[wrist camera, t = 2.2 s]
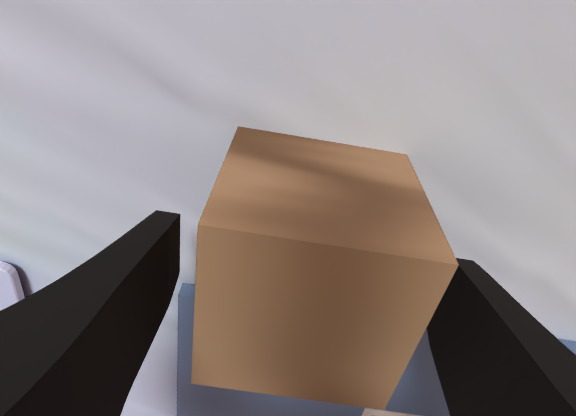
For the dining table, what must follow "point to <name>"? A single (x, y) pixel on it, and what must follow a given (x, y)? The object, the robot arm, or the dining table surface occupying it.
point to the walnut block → (314, 270)
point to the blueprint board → (294, 411)
